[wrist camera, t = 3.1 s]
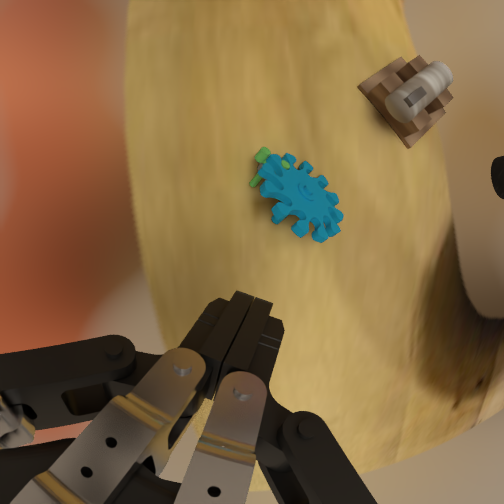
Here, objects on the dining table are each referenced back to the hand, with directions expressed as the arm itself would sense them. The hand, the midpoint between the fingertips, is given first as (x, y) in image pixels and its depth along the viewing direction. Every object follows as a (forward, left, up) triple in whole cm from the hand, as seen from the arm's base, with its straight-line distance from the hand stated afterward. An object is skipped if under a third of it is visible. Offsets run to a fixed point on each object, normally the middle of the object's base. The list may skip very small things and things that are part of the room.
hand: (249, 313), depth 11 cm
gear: (-1, +8, -20) cm, 22 cm away
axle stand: (-1, +28, -20) cm, 35 cm away
